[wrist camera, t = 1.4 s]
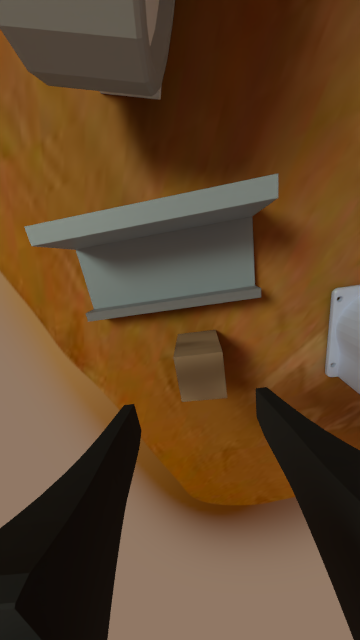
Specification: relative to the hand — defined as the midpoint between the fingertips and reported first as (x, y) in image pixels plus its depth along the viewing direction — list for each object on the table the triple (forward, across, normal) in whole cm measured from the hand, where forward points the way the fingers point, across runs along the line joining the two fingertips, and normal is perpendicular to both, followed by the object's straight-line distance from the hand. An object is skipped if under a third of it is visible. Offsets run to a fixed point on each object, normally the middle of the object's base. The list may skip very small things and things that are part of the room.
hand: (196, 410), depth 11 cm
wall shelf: (+10, +1, -8) cm, 13 cm away
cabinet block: (+10, -1, +1) cm, 10 cm away
